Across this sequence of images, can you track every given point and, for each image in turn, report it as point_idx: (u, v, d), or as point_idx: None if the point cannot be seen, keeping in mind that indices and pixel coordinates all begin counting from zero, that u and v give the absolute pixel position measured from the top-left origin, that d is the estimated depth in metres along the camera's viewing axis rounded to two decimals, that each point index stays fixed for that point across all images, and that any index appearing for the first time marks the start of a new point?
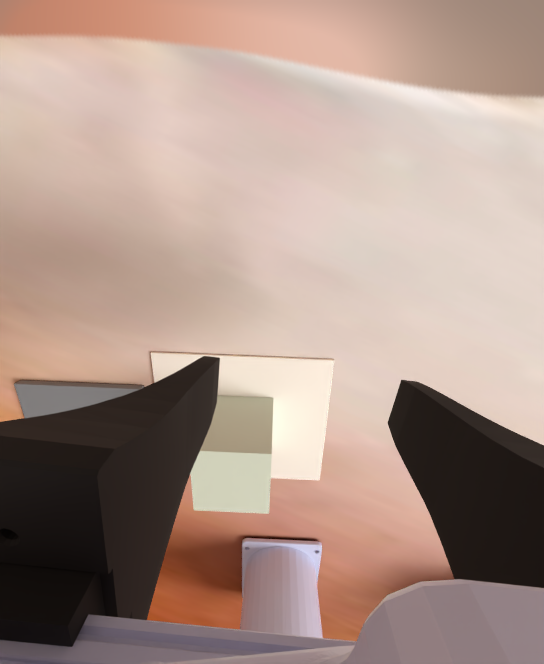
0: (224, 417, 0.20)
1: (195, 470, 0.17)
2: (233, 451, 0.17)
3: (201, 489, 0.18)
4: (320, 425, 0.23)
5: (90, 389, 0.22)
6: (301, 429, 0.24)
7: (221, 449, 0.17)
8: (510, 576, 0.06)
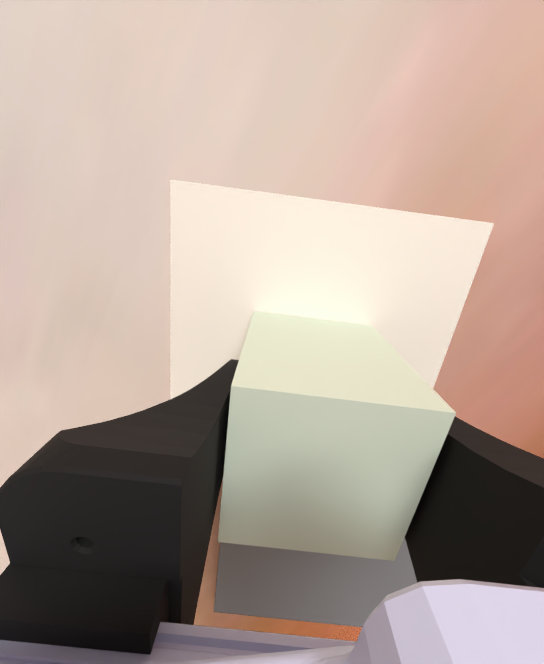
0: None
1: (274, 540, 0.08)
2: (224, 465, 0.07)
3: (332, 539, 0.08)
4: (331, 215, 0.10)
5: (223, 550, 0.16)
6: (336, 259, 0.11)
7: (223, 482, 0.07)
8: (461, 571, 0.06)
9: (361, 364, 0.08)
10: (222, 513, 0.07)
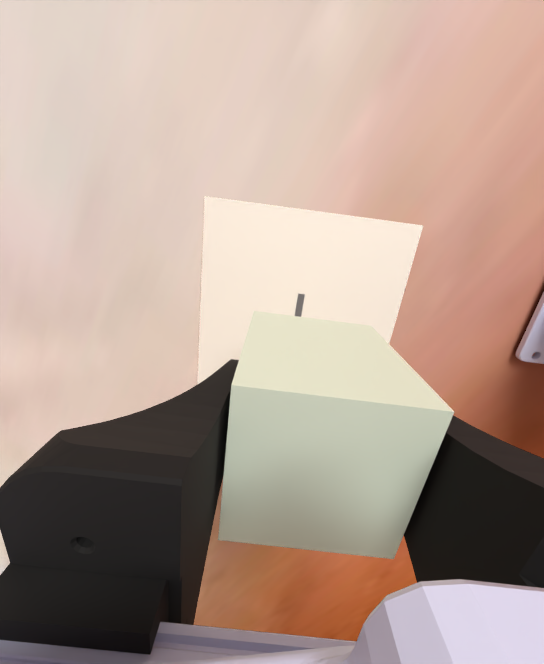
0: None
1: (274, 538, 0.08)
2: (225, 464, 0.07)
3: (332, 537, 0.08)
4: (313, 220, 0.15)
5: None
6: (317, 250, 0.16)
7: (224, 480, 0.07)
8: (461, 571, 0.06)
9: (360, 363, 0.08)
10: (222, 511, 0.07)
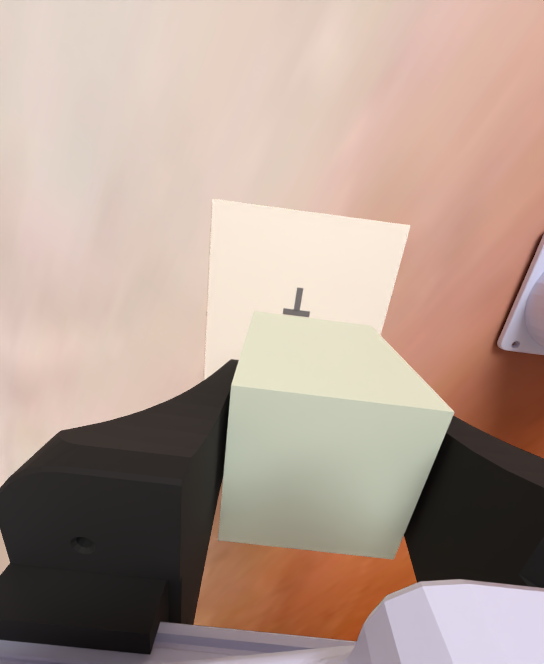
0: None
1: (274, 538, 0.08)
2: (224, 464, 0.07)
3: (332, 538, 0.08)
4: (311, 220, 0.17)
5: None
6: (314, 247, 0.18)
7: (223, 480, 0.07)
8: (461, 571, 0.06)
9: (361, 363, 0.08)
10: (222, 512, 0.07)
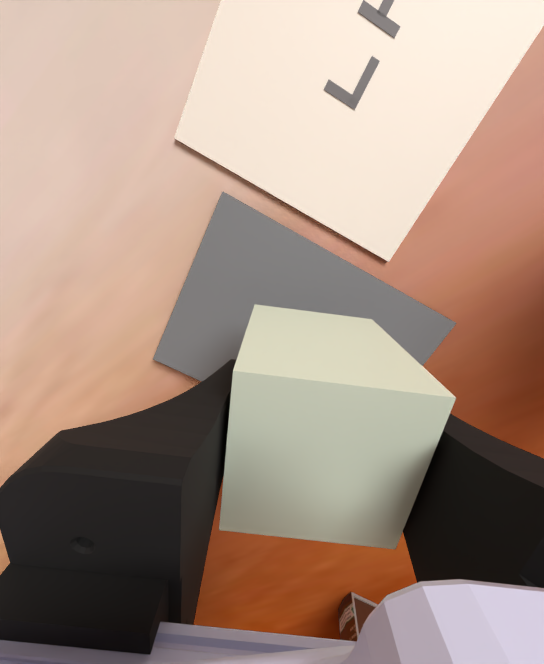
0: None
1: (275, 528, 0.08)
2: (226, 451, 0.07)
3: (333, 527, 0.08)
4: None
5: (195, 268, 0.15)
6: None
7: (225, 469, 0.07)
8: (461, 571, 0.06)
9: (361, 353, 0.08)
10: (223, 500, 0.07)
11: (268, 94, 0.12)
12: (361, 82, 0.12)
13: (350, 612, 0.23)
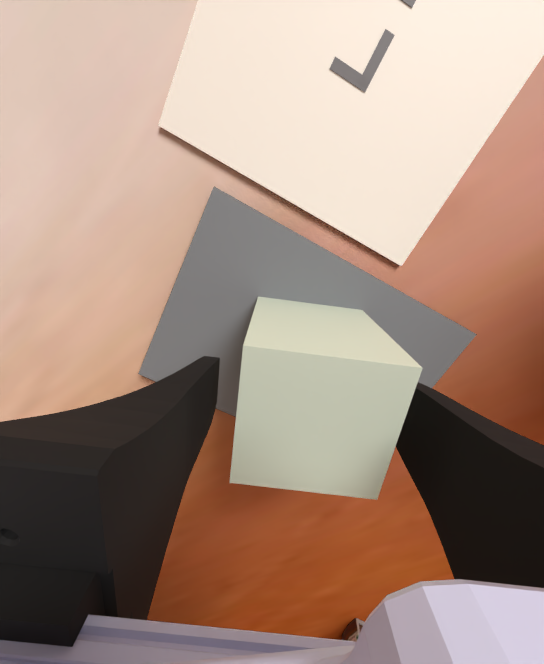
0: None
1: (276, 481, 0.09)
2: (236, 414, 0.09)
3: (324, 479, 0.09)
4: None
5: (184, 273, 0.13)
6: None
7: (235, 430, 0.09)
8: (510, 576, 0.06)
9: (349, 335, 0.10)
10: (234, 456, 0.09)
11: (265, 74, 0.11)
12: (373, 60, 0.11)
13: (355, 640, 0.22)
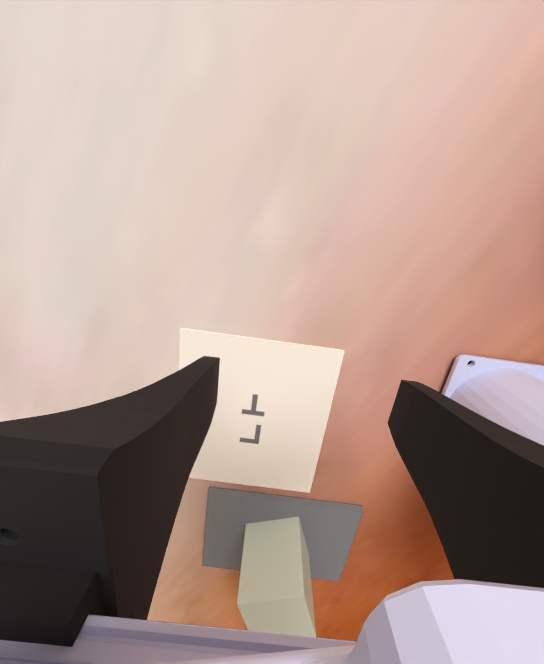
0: None
1: None
2: (245, 621, 0.21)
3: (290, 634, 0.22)
4: (262, 346, 0.21)
5: (207, 524, 0.26)
6: (265, 365, 0.21)
7: (247, 624, 0.22)
8: (510, 576, 0.06)
9: (282, 568, 0.22)
10: None
11: (213, 450, 0.24)
12: (256, 434, 0.23)
13: None
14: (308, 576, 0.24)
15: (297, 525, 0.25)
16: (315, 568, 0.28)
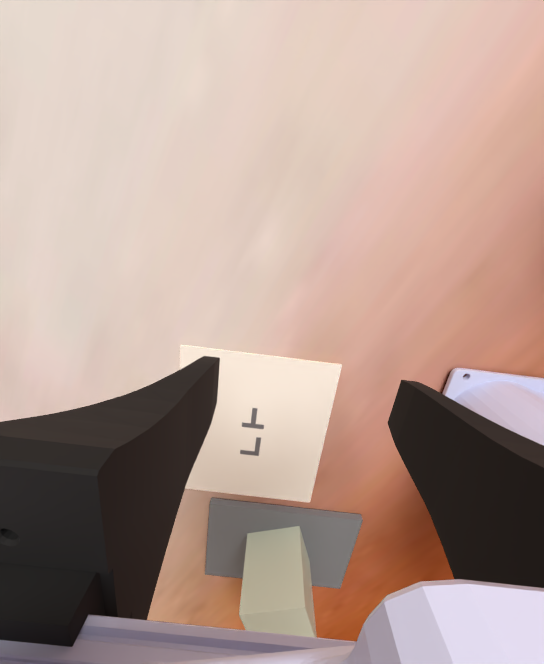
0: None
1: None
2: None
3: None
4: (260, 361, 0.21)
5: (209, 533, 0.27)
6: (264, 380, 0.21)
7: None
8: (510, 576, 0.06)
9: (283, 578, 0.23)
10: None
11: (214, 462, 0.24)
12: (256, 446, 0.24)
13: None
14: (309, 585, 0.24)
15: (298, 535, 0.25)
16: (316, 576, 0.29)
